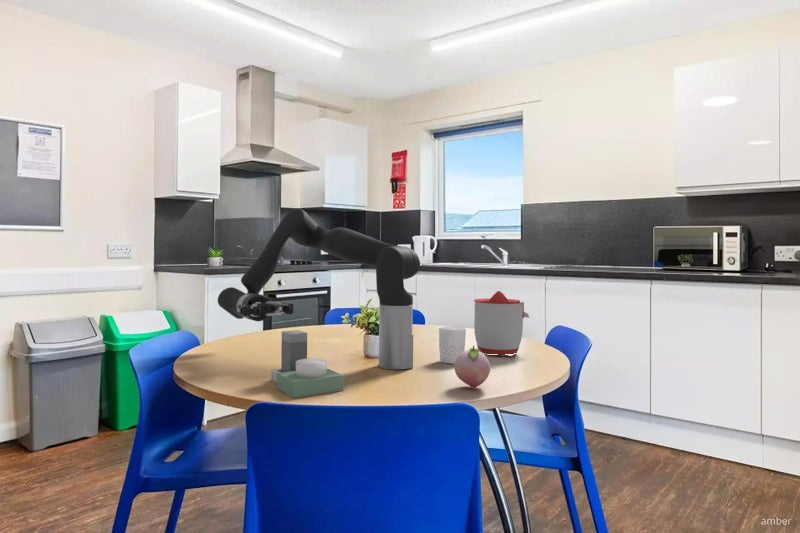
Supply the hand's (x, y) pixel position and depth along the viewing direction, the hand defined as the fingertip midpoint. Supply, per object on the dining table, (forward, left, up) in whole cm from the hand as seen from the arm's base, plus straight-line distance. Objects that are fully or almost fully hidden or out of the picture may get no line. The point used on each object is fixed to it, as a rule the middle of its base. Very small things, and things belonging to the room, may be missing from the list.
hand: (276, 311), depth 139 cm
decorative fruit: (-48, +19, -16) cm, 54 cm away
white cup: (-49, -11, -16) cm, 53 cm away
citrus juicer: (-67, -23, -16) cm, 73 cm away
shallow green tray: (-8, +15, -16) cm, 23 cm away
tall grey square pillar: (-6, +11, -16) cm, 20 cm away
